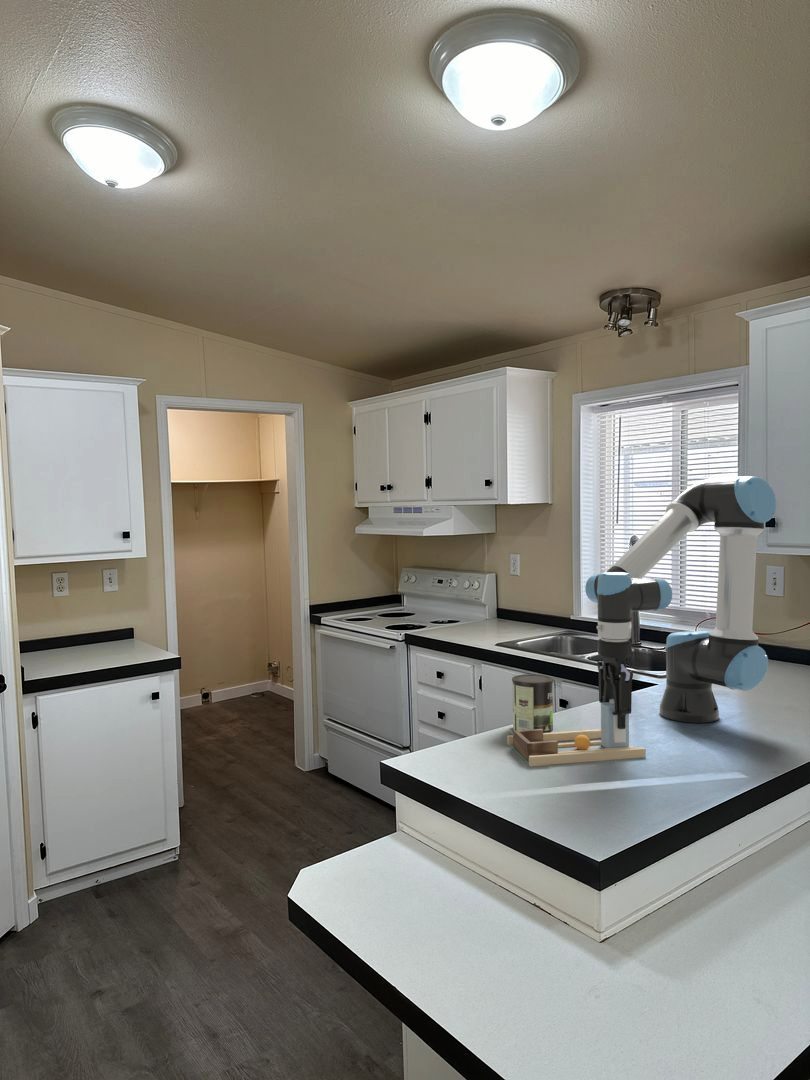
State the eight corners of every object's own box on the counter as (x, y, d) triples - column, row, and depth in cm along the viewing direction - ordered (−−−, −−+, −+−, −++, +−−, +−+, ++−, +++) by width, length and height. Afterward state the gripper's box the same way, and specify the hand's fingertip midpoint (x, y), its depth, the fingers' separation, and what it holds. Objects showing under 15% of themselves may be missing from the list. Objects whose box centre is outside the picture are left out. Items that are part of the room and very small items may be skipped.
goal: (541, 745, 172) (541, 728, 172) (557, 759, 162) (557, 741, 162) (513, 747, 170) (513, 730, 170) (527, 761, 161) (527, 743, 161)
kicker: (620, 743, 172) (620, 697, 172) (628, 748, 168) (628, 701, 168) (601, 744, 171) (600, 698, 171) (608, 750, 167) (608, 702, 167)
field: (613, 740, 178) (613, 728, 178) (645, 762, 162) (645, 748, 162) (507, 747, 173) (507, 735, 173) (530, 771, 158) (530, 757, 158)
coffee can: (553, 728, 189) (553, 674, 189) (553, 740, 179) (553, 683, 178) (513, 726, 191) (513, 673, 191) (511, 738, 181) (510, 682, 180)
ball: (586, 747, 170) (586, 732, 170) (592, 751, 167) (592, 736, 167) (572, 748, 170) (572, 733, 169) (578, 752, 166) (578, 737, 166)
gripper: (583, 633, 176) (584, 729, 177) (616, 646, 160) (616, 751, 160) (612, 632, 178) (613, 727, 179) (648, 644, 161) (648, 749, 162)
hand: (614, 738), depth 170 cm, fingers closed on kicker, 4 cm apart
